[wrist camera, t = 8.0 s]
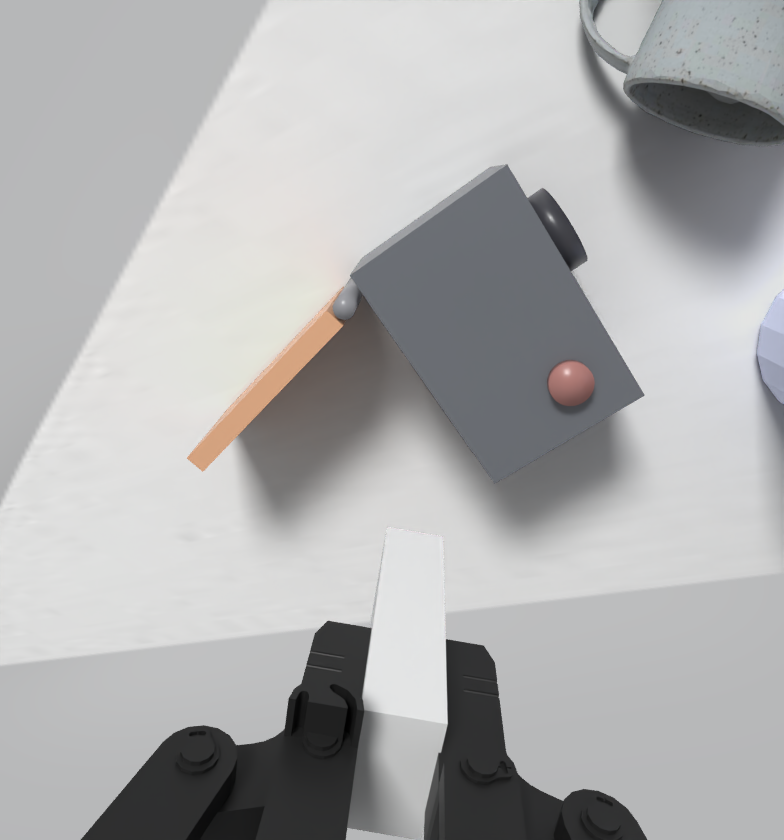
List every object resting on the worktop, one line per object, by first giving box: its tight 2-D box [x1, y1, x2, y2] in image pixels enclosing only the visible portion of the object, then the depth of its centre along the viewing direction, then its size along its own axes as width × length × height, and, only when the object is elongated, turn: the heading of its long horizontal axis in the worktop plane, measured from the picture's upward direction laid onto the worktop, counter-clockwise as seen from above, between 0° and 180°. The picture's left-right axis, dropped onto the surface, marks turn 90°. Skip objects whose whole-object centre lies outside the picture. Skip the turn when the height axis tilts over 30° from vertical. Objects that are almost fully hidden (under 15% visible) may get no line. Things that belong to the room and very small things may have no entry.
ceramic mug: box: [579, 0, 784, 146], centre depth 29 cm, size 11×8×8 cm
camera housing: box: [350, 165, 644, 483], centre depth 33 cm, size 12×9×8 cm
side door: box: [187, 278, 363, 471], centre depth 34 cm, size 11×1×7 cm, turn 136°
